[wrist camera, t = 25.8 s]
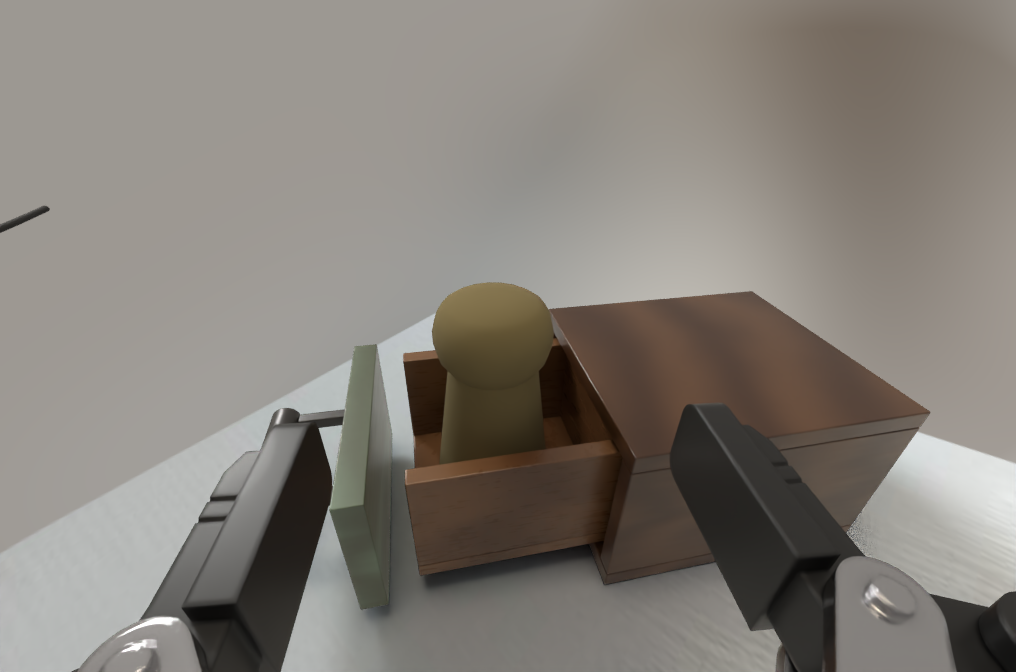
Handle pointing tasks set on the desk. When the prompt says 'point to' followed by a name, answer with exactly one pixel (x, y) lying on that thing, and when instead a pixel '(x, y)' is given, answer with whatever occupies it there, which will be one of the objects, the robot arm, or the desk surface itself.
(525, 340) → the olive peg doll
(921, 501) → the desk surface
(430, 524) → the drawer
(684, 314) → the cabinet
